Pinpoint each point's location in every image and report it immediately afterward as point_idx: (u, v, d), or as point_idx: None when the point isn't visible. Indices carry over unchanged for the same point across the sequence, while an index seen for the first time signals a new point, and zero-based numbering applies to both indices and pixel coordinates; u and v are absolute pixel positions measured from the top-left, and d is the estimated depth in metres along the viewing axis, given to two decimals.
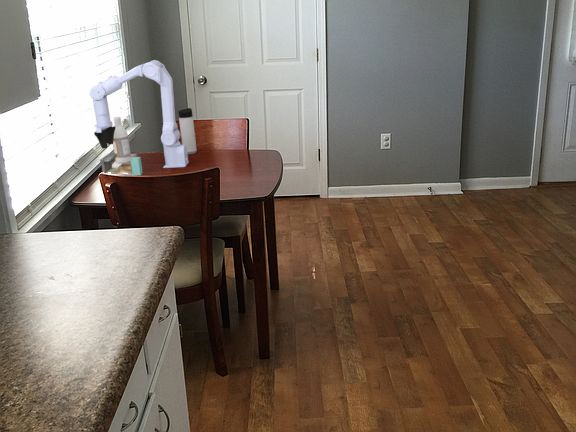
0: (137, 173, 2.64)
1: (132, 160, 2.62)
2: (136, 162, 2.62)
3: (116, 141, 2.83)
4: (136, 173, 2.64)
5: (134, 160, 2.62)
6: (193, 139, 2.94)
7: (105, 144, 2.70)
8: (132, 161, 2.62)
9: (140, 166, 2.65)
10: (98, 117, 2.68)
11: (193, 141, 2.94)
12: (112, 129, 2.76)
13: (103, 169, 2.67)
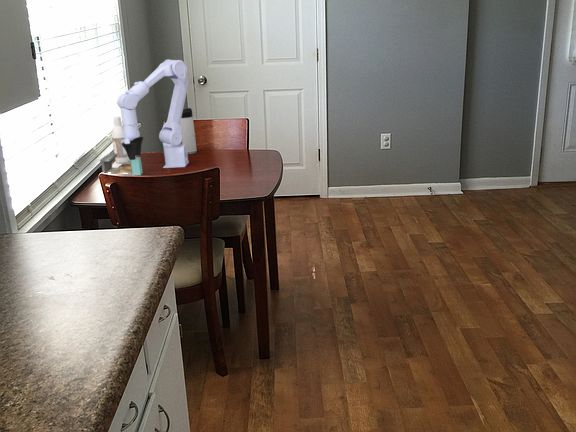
0: (137, 173, 2.64)
1: (132, 160, 2.62)
2: (136, 162, 2.62)
3: (116, 141, 2.83)
4: (136, 173, 2.64)
5: (134, 160, 2.62)
6: (193, 139, 2.94)
7: (133, 155, 2.59)
8: (132, 161, 2.62)
9: (140, 166, 2.65)
10: (126, 127, 2.57)
11: (193, 141, 2.94)
12: (140, 140, 2.65)
13: (103, 169, 2.67)
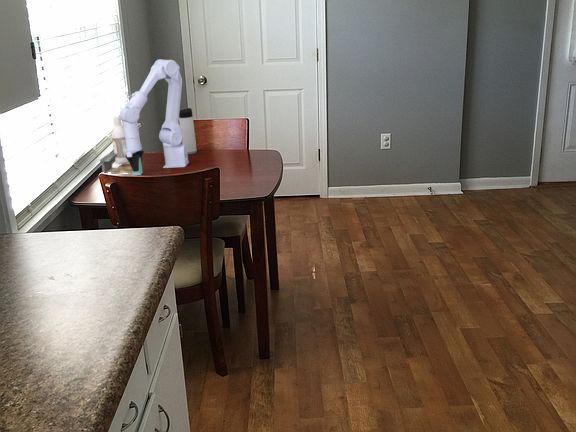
0: (137, 173, 2.64)
1: None
2: None
3: (116, 141, 2.83)
4: (136, 173, 2.64)
5: None
6: (193, 139, 2.94)
7: (136, 167, 2.62)
8: None
9: (140, 166, 2.65)
10: (128, 141, 2.59)
11: (193, 141, 2.94)
12: (140, 153, 2.65)
13: (103, 169, 2.67)
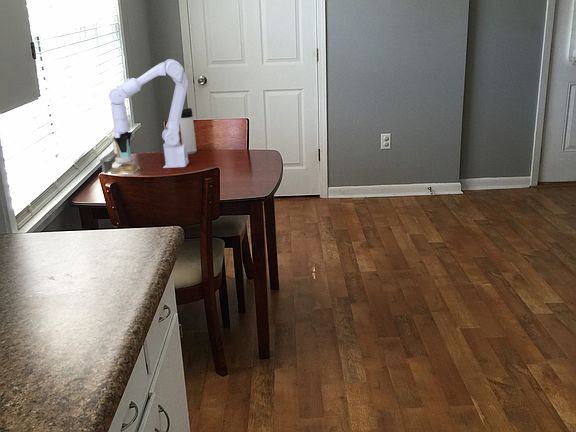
0: (125, 155, 2.67)
1: None
2: None
3: None
4: (124, 155, 2.67)
5: None
6: (193, 139, 2.94)
7: (124, 148, 2.65)
8: None
9: (128, 148, 2.68)
10: (116, 122, 2.61)
11: (193, 141, 2.94)
12: (128, 135, 2.67)
13: (103, 169, 2.67)
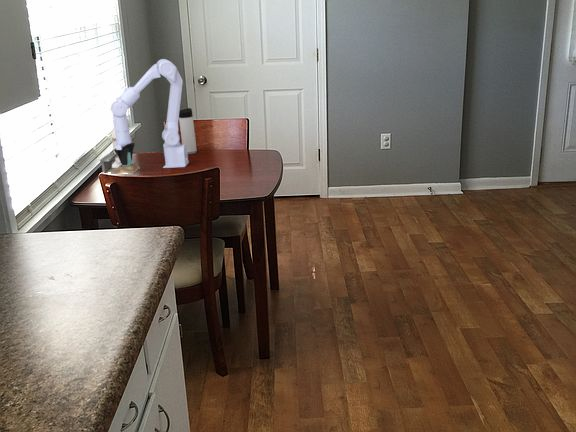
0: None
1: None
2: None
3: None
4: None
5: None
6: (193, 139, 2.94)
7: (125, 161, 2.65)
8: None
9: (130, 161, 2.69)
10: (118, 134, 2.63)
11: (193, 141, 2.94)
12: (131, 146, 2.70)
13: (103, 169, 2.67)
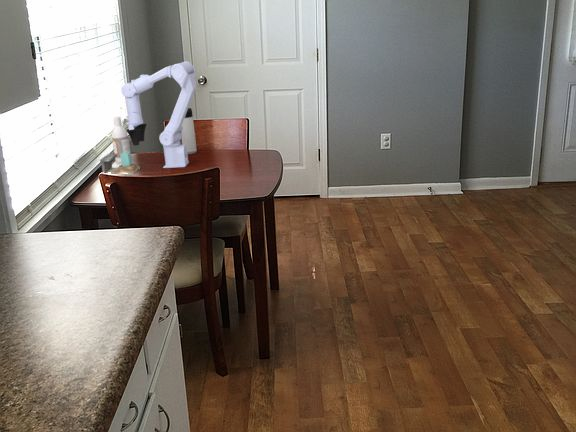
0: None
1: (122, 155, 2.67)
2: (125, 158, 2.67)
3: (116, 141, 2.83)
4: None
5: (124, 155, 2.67)
6: (193, 139, 2.94)
7: (137, 141, 2.72)
8: (122, 156, 2.67)
9: (130, 161, 2.69)
10: (130, 114, 2.70)
11: (193, 141, 2.94)
12: (143, 126, 2.78)
13: (103, 169, 2.67)
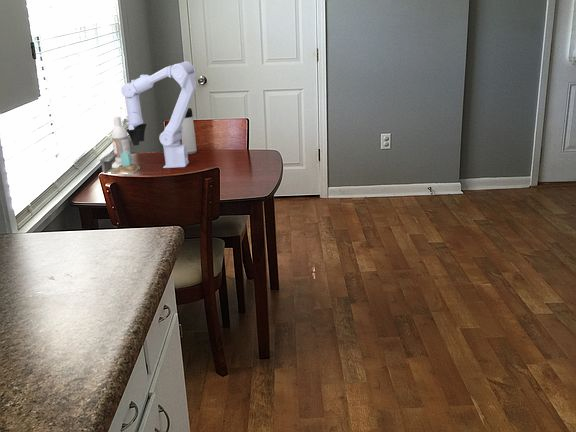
0: None
1: (122, 155, 2.67)
2: (125, 158, 2.67)
3: (116, 141, 2.83)
4: None
5: (124, 155, 2.67)
6: (193, 139, 2.94)
7: (137, 141, 2.72)
8: (122, 156, 2.67)
9: (130, 161, 2.69)
10: (130, 114, 2.70)
11: (193, 141, 2.94)
12: (143, 126, 2.78)
13: (103, 169, 2.67)
